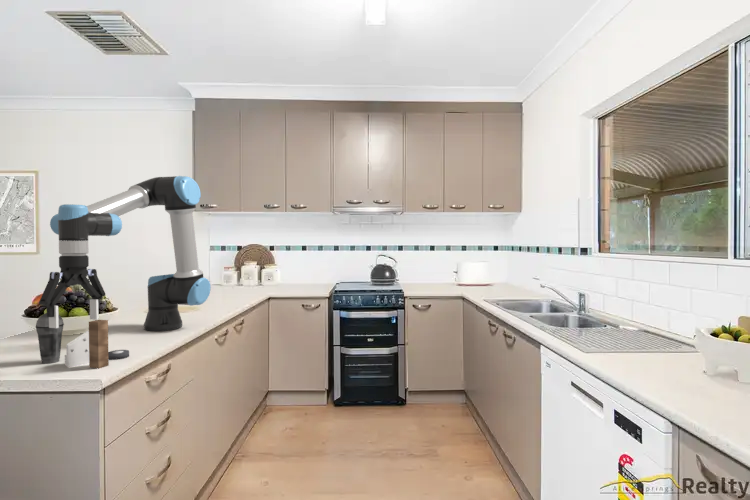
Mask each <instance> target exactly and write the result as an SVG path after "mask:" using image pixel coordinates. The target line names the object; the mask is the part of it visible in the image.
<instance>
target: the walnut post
mask: <svg viewBox="0 0 750 500" xmlns="http://www.w3.org/2000/svg"><path fill="white" fill-rule="evenodd" d="M88 331H89V366H88V368H89V369H90V368H91V369H97V368H98V369H102V368H104V367H107V366H110V365H109V360H108V352H109V319H98V320H92V321H88ZM98 369H97V370H98Z"/></svg>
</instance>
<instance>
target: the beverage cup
mask: <svg viewBox="0 0 750 500" xmlns="http://www.w3.org/2000/svg"><path fill="white" fill-rule="evenodd" d="M58 318H59V328H49V317H47V312H46V313H43V314H42V315H40V316H39V318H37V320H36V324H35V330H36V333H37V339H38V346H39V347H38V348H39V355H40V356H39V357H40V361H41V364H43V365H49V364H54V363H55V364H56V363H58V362H60V357H61V348H62V337H63V330H64V326H65V323H64V319H63V318H62V316H61V315H60V314H58Z"/></svg>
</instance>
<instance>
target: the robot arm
mask: <svg viewBox="0 0 750 500" xmlns="http://www.w3.org/2000/svg"><path fill="white" fill-rule="evenodd" d="M200 199H201V189H200V187H199V184H198V182H196V181H195V179H193V178H192V177H190V176H186V175H185V176H184V175H183V176H182V175H178V176H175V175H174V176H155V177H153V178H149V179H146V180H144V181H141V182H139V183H135V184H134V185H131V186H129V188H128V189H127V190H125V191H122V192H120V193H117V194H114V195H112V196H110V197H106V198H105V199H103V200H99V201H96V202H94V203H91V204H88V205H85V204H84V205H83V204H69V203H68V204H67V203H66V204H60V205H59V207H58V210H57V211H58V212H57V214H56V213H55V215H53V216H52V217H51V219H50V222H49V226H50V229H51V231H52V232H53V233H54V234H56V235H58V254H60V256H59V257H58V267H59V268H60V272H59V271H50V272H49V278H48V281H47V284H46V286H45V288H44V290H43V292H42V295H41V297H40V299H39V302H38V303H39V305H42V306H44V307H45V306H46V313H47V317H49V328H59V318H58V315H59V305H57V304H58V302H59V300H60V299H61V298H62V296H63V294H65V292H66V290H68V288H70V287H71V286H77V285H79V286H81V287H82V288H83V289H84V290H85V292H87V294H88V295H89V297H90V298H91V299H89V320H92V321H95V320H100V319H99V318H100V317H99V314H100V313H99V309H100V307H101V300H103V297H105V296H106V291H105V290H104V287H103V286H102V284H101V282H100V279H99V277H98V273H97V272H98V271H97V269H95V268H88V267H89V256H88V254H89V237H90V236H92V237H93V236H94V237H95V236H96V237H98V236H99V237H102V236H103V237H111V236H112V237H113V236H117V235H118V234H119V233H120V232H121V231H122V229H123V221H122V219H121V218H120V216H123V215H124V214H127V213H130V212H132V211H134V210H136V209H145V208H148V207H151V206H154V207H155V206H164V210H165V212H167V213H168V214H169V219H170V226H171V227H170V228H171V234H172V242H173V243H172V244H173V250H174V259H175V268H176V271H175V273H169V274H162V275H154V276H150V277H149V278H148V281H147V305H148V307H147V313H146V315H145V316H146V317H145V321H144V323H143V330H145V331H147V332H148V331H150V332H163V331H172V330H177V329H181V328H182V327H183V320H182V317H181V314H180V311H179V305H182V306H183V305H184V306H185V305H186V306H190V307H191V306H200V305H203V304H204V303H205V302H206V301H208V298H209V296H210V293H211V288H212V287H211V282H210V280H209V279H208V278H207V277H204V273H203V271H202V269H200V268H199V261H198V260H199V259H198V250H197V242H196V241H197V240H196V232H195V223H194V216H193V213H194V211H196V209H197V207H196V205H198V203H200ZM56 274H57V275H56Z"/></svg>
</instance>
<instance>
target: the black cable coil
mask: <svg viewBox="0 0 750 500" xmlns="http://www.w3.org/2000/svg"><path fill="white" fill-rule="evenodd" d="M129 357H130V351H129V350H128V349H116V350H111V351H110V350H109V351H108V359H109V360H110V361H113V360H114V361H115V360H116V361H117V360H118V361H119V360H123V359H127V358H129Z"/></svg>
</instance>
